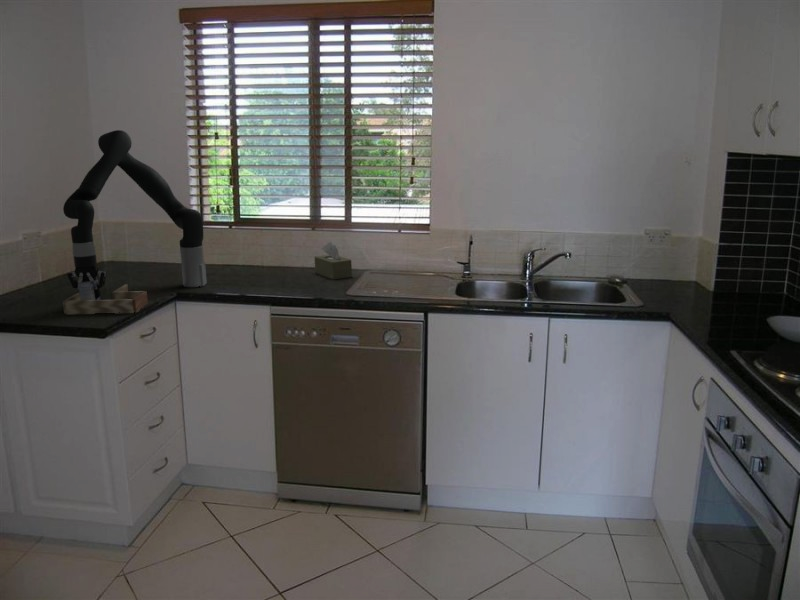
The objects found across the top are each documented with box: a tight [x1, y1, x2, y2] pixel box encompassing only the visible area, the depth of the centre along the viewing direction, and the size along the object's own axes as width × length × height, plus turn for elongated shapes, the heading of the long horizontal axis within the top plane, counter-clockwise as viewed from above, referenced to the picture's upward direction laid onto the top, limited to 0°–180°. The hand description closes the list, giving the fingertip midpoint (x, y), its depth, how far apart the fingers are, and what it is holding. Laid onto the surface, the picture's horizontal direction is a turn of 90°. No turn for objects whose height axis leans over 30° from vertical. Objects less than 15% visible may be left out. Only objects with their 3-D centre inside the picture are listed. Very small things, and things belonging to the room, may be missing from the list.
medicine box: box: [78, 278, 101, 300], centre depth 248 cm, size 8×4×9 cm, turn 4°
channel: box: [62, 283, 149, 315], centre depth 255 cm, size 26×27×5 cm
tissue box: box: [314, 241, 353, 280], centre depth 304 cm, size 19×10×16 cm, turn 33°
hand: (90, 298), depth 248 cm, fingers closed on medicine box, 4 cm apart
